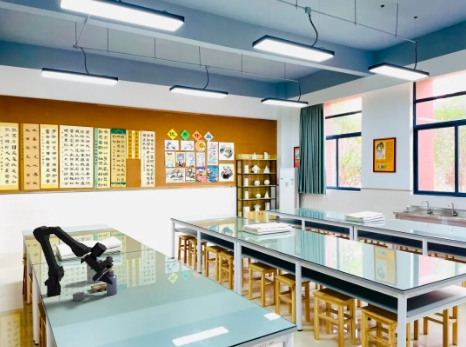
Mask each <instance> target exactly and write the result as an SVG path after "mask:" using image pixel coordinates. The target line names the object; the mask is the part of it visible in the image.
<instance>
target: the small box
mask: <svg viewBox="0 0 466 347" xmlns="http://www.w3.org/2000/svg"><path fill="white" fill-rule="evenodd" d="M97 259H98V260H100V259H101V260H102V261H103V258H97ZM95 274H96V272H95V271H94V270H93V269H92V270H91V267H90V266H89V265H88V264H87V263H86V280H87V281H86V282H87V283H102V282H101V281H98V280H99V278H98V279H97V281H96V282H94V281H93V280H92V277H93V276H94V275H95Z"/></svg>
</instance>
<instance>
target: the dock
mask: <svg viewBox="0 0 466 347" xmlns="http://www.w3.org/2000/svg"><path fill="white" fill-rule="evenodd" d="M105 289H107V283H105V282H102V283H99V284H93V285H90V290H91V291H92V292H93V293H95V294H96V293H98V291H100V292H104V291H105Z"/></svg>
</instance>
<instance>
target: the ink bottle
mask: <svg viewBox="0 0 466 347" xmlns="http://www.w3.org/2000/svg"><path fill="white" fill-rule="evenodd" d="M108 271H109V275H108V277H109V279H110V280H111V281H112V282H113V284H108V283H107V288H106V296H115V295H117V294H118V287H117V286H118V283H117V275H116V274H115V268H112V267H111V268H110V269H108Z"/></svg>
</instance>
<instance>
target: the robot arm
mask: <svg viewBox="0 0 466 347" xmlns="http://www.w3.org/2000/svg"><path fill="white" fill-rule="evenodd" d="M32 235H33V237H34V239H35V240H36V242H38V243H39V244H40V248H41V250H42V253H43V255H44V256H43V257H44V259H45V261H46V265H47V267H48V269H47V279H45V281H44V282H43V285H44V286H45V287H46V294H45V295H46V296H47V297H48V298H51V297H55V296H60V295H61V293H62V285H61V283H60V282H61V281H62V279H63V278H64V277H65V273H66V271H65V270H64V265H59V263H58V261H57V259H56V255H55V253H54V250H53V247H52V244H51V241H50V237H51V235H54V236H55V237H57V239H59V240H60V241H61V242H63V243H64V245H66V246H68V247H69V248H70V250H71V253H73V255H74V256H75V257H77V258H80V264H83V263H85V264H86V265H87V264H88V265H89V266H90V267H91V270H92V269H93V270H94V271H95V272H96V274H95V275H94V276H93V277H92V280H93V281H94V282H93V283H97V282H96V281H97V279H98V278H99V280H98V281H101V282H100V283H108V284H113V282H112V281H111V280H110V279H109V277H108V275H109V271H108V269H110V268H113V266H114V262H115V261H114V257H112V256H111V255H108V256H106V257H105V259H104V260H103V259H102V258H100V257H101V256H102V255H103V254H104V253H105V252H106V251H107V250H108V248H107V246H106V245H105V244H103V243H101V242H99V241H97V242H96V243H95V244H94V245H93V247H92V246H88V245H86V244H84V243H83V242H80V241H78V240H76V239H75V238H73V236H71V235H70V234H69V233H67V232H66V231H65V230H64V229H62V227H60V226H59V225H57V226H46V225H42V226H38V227H36V228H34V229H33V231H32ZM98 259H100V260H98ZM101 259H102V260H101Z"/></svg>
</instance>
